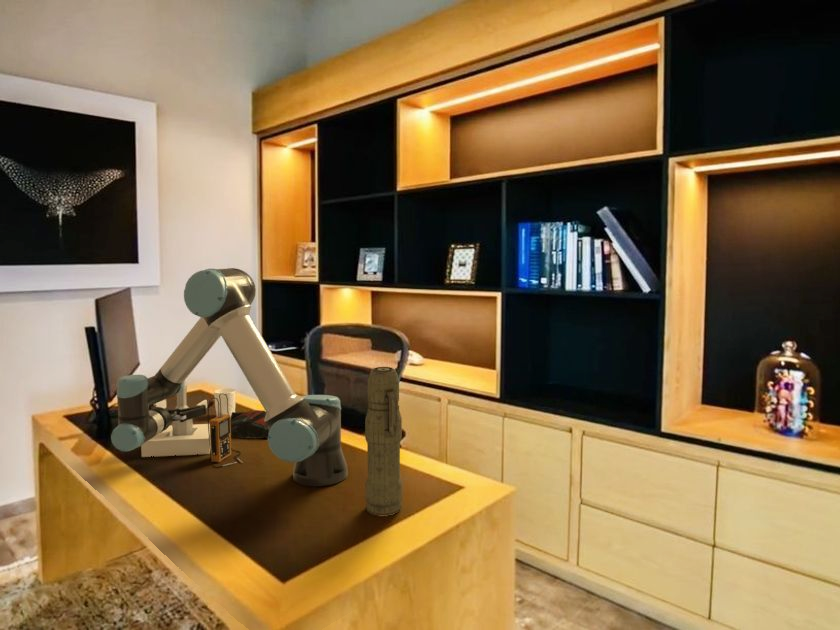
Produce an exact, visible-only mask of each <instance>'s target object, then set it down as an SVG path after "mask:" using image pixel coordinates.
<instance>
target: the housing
mask: <svg viewBox="0 0 840 630" xmlns="http://www.w3.org/2000/svg"><path fill="white" fill-rule="evenodd" d="M209 434H210V423H209V432H208V423H199V424H197V423H196V424H194V423H193V428H192V435H187V436H174V435H173V428H172V424H170V425H169V427H168V428H167V429H166V430H164V431H163V432H161V433H159V434H158V435H156V436H154V437H153V438H151V439H150V440H148V441H146V442H145V443H144V444H142V445H141V446H140V448H141V449H140V450H141V457H142V458H149V457H150V458H151V456H152V457H153V456H154V457H169V456H170V457H171V456H172V457H173V456H175V455H176V456H193V455H194V456H195V455H197V454H198V455H210V449H211V445H210V448H209ZM176 456H175V457H176Z"/></svg>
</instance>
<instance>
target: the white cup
mask: <svg viewBox="0 0 840 630" xmlns="http://www.w3.org/2000/svg"><path fill="white" fill-rule="evenodd" d="M236 392H237V391H236V389H234V388H219V389H216V390H214V391H213V394H214V395H213V398H214V406H215V407H214V408H215V411H216V412H215V413H216V417H217V416H218V401H219V410H220V399H221V412H222V414H227V415H228V413H229V415H230V417H231V414H232V412H236ZM221 393H224V394H226V395H227V397H226V395H224V394H221ZM219 394H221V395H220V399H219ZM215 398H217V399H218V401H217V399H215ZM227 398H228V411H227Z"/></svg>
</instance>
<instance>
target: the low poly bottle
mask: <svg viewBox="0 0 840 630" xmlns="http://www.w3.org/2000/svg"><path fill="white" fill-rule="evenodd" d="M187 391H188V386H187V382H186V380H185V381H184V387H183V390H182V391H181V392H180V393H179V394H177V395H176V406H175V408H174V409H177V408H178V409H185V408H190V407H189V406H188V404H187V394H188V393H187ZM175 413H176V411H175ZM176 415H177V414H176ZM193 419H194V418H192V419H189V420H186V421H184V422H180V420H177V421H173V422H171V425H172V428H173V435H174V436H187V435H192V428H193V425H194V422H193Z"/></svg>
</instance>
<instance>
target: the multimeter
mask: <svg viewBox="0 0 840 630" xmlns="http://www.w3.org/2000/svg"><path fill="white" fill-rule="evenodd" d="M221 394H224V393H221ZM221 394H219V399H220V395H221ZM224 395H226V394H224ZM226 397H227V395H226ZM215 399H217V398H215V397H211V398H210V400H209V402H208V403H207V424H208V432H209V424H210V434H209V448H210V445H211V449H210V454H209V458H210V459H209V460H210V463H211V466H212V467H213V468H216V469H219V468H222V467H223V468H225V467H228V466H232V465H233V464H237V463H238V462H240V463H242V464H243V463H244V462H243V461H242V459H240V458H239V457H238V456H240V455H241V454H242V452H241V451H239V450H234V449H233V448H232V437H231V423H230V420H231V418H230V415H229V413H228V415H227V414H222V412H221V399H220V410H219V401H218V399H217V401H218V416H217V415H216V416H215V417H214V418H211V419H210V418H209V411H210V410H209V409H210V403H211V401H212V400H215ZM227 411H228V398H227ZM232 451H233V452H237V453H238V454H236V455H234V458H235V459H236V460H237V461H235V462H230V463H226V464H223V465H221V466H215V465H214V464H213V463H221V462H223V461H224V460H225V459H227V458H228V457H231V455H232Z"/></svg>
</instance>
